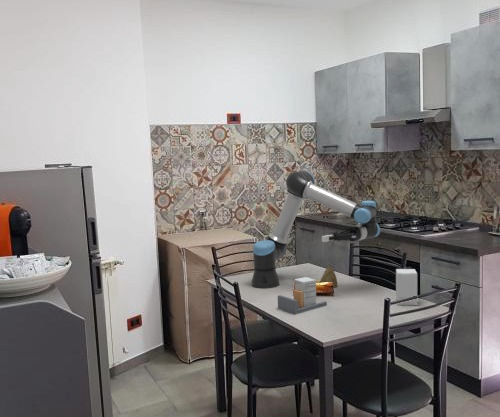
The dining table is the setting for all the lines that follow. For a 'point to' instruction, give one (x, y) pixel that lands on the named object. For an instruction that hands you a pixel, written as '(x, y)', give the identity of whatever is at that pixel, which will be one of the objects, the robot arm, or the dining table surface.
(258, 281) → the robot arm
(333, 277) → the rock
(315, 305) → the grey l-shaped block
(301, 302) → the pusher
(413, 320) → the dining table surface
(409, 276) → the supplement box
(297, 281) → the supplement box
